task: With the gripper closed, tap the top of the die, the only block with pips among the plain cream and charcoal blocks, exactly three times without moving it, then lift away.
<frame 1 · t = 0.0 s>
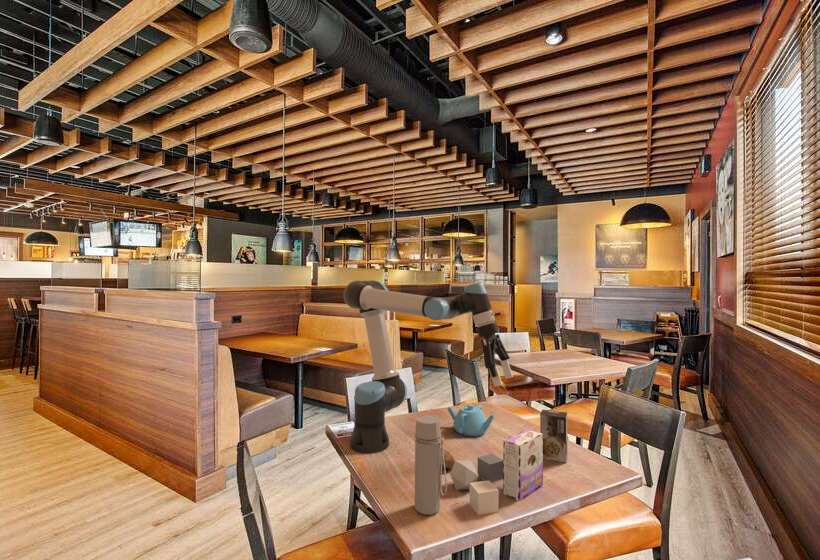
hand: (504, 381, 146), 28 cm above the table, tool tilted 20°, fingers open, 13 cm apart
teapot: (469, 431, 175), on the table
charcoal block: (490, 477, 133), on the table
bread roll: (438, 468, 140), on the table
coffee box: (553, 458, 149), on the table
die: (463, 488, 127), on the table
cream block: (483, 508, 115), on the table
candy box: (523, 490, 125), on the table
water bottle: (430, 510, 114), on the table
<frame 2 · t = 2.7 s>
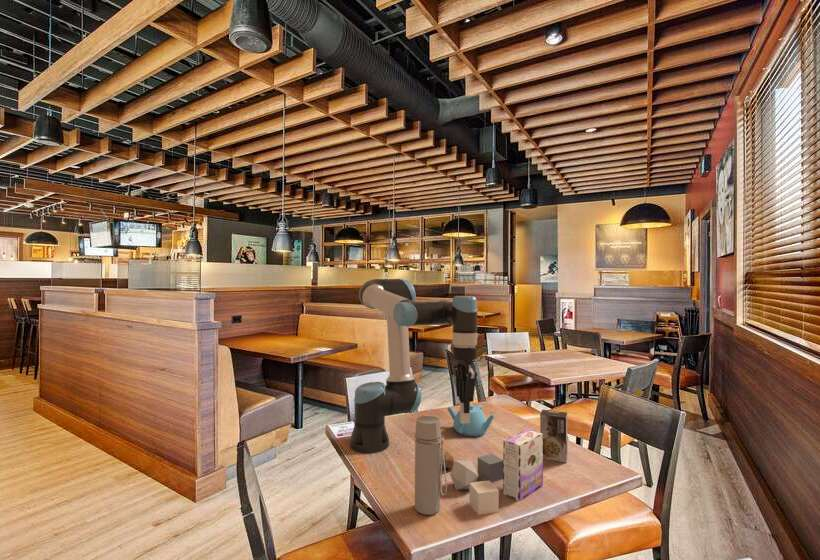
hand: (464, 422, 126), 20 cm above the table, tool pointing down, fingers closed
nothing on the table moved.
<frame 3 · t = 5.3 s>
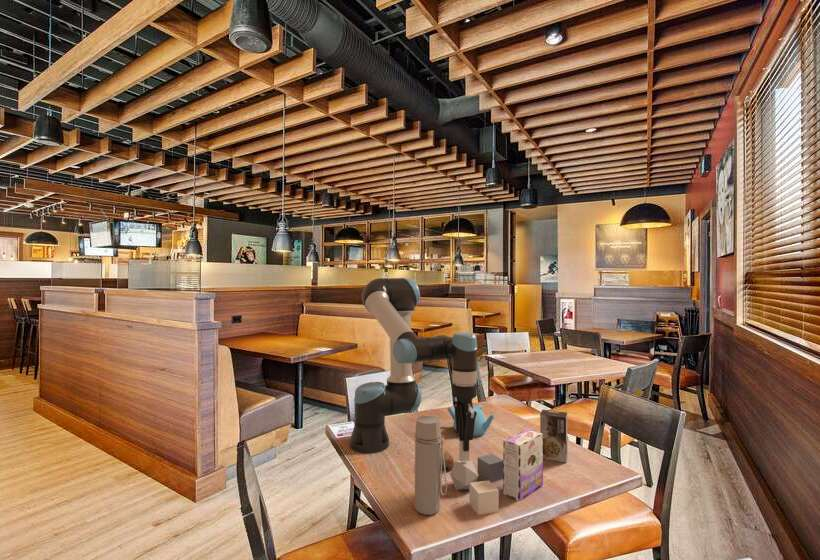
hand: (464, 460, 127), 8 cm above the table, tool pointing down, fingers closed
nothing on the table moved.
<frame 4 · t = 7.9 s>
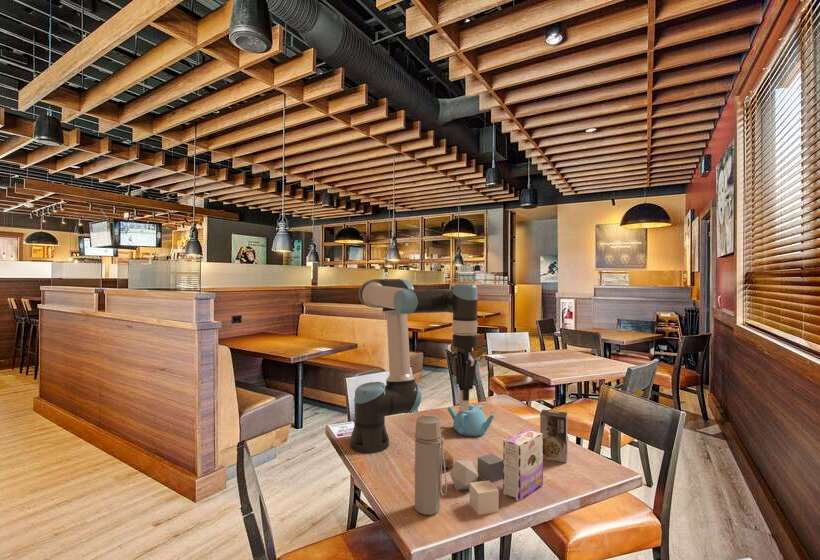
hand: (464, 409, 127), 24 cm above the table, tool pointing down, fingers closed
nothing on the table moved.
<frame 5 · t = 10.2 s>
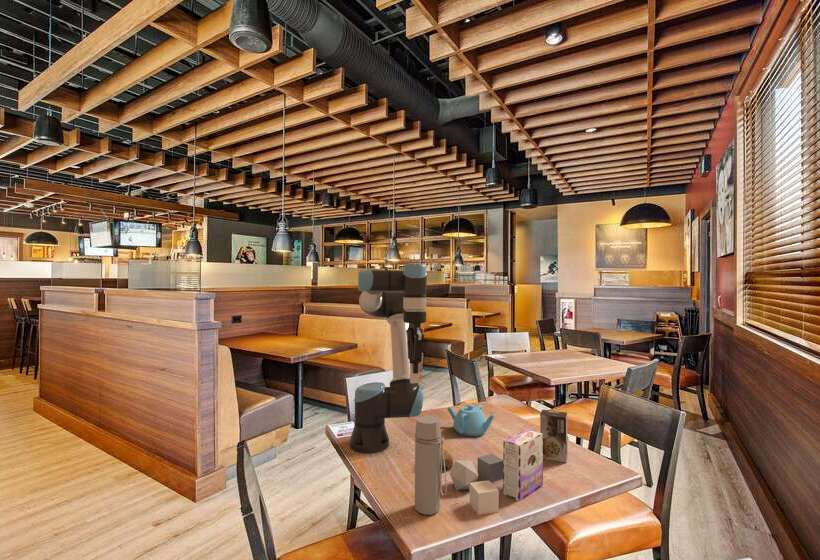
hand: (414, 382, 134), 30 cm above the table, tool pointing down, fingers closed
nothing on the table moved.
at the end: die moved 0.2 cm from its start; die tilted 0°; the gripper is holding nothing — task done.
